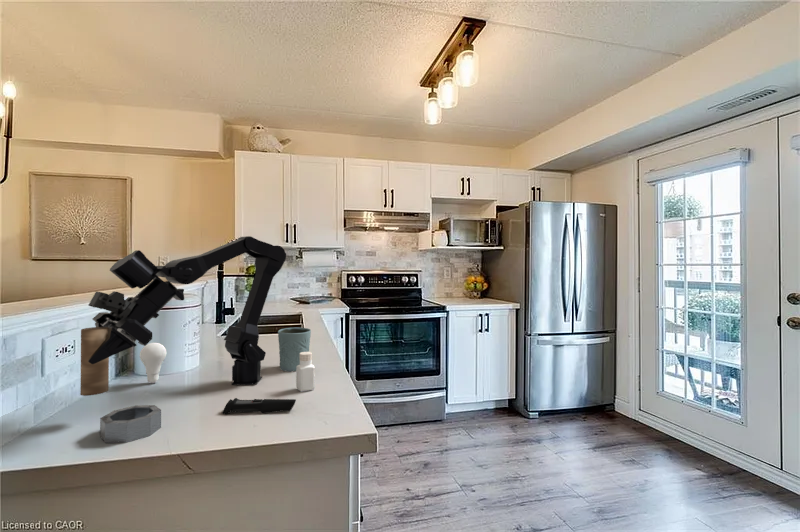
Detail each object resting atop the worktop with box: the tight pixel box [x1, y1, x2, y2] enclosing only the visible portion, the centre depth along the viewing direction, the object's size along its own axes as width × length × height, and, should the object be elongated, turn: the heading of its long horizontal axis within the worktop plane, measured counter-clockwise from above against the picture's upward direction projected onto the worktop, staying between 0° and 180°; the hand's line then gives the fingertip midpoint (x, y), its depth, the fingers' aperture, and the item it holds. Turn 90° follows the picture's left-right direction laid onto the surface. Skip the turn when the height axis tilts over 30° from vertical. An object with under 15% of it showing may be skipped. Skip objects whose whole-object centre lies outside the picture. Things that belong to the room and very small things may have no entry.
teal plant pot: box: [277, 327, 312, 372], centre depth 120 cm, size 10×10×12 cm
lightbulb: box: [139, 342, 167, 384], centre depth 103 cm, size 6×6×11 cm
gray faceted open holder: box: [99, 404, 162, 444], centre depth 73 cm, size 9×9×4 cm
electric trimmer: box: [221, 397, 297, 415], centre depth 84 cm, size 4×16×3 cm, turn 93°
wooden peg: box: [79, 326, 110, 397], centre depth 78 cm, size 4×4×13 cm
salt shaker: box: [295, 351, 316, 393], centre depth 99 cm, size 4×4×10 cm
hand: (86, 361), depth 77 cm, fingers closed on wooden peg, 4 cm apart
